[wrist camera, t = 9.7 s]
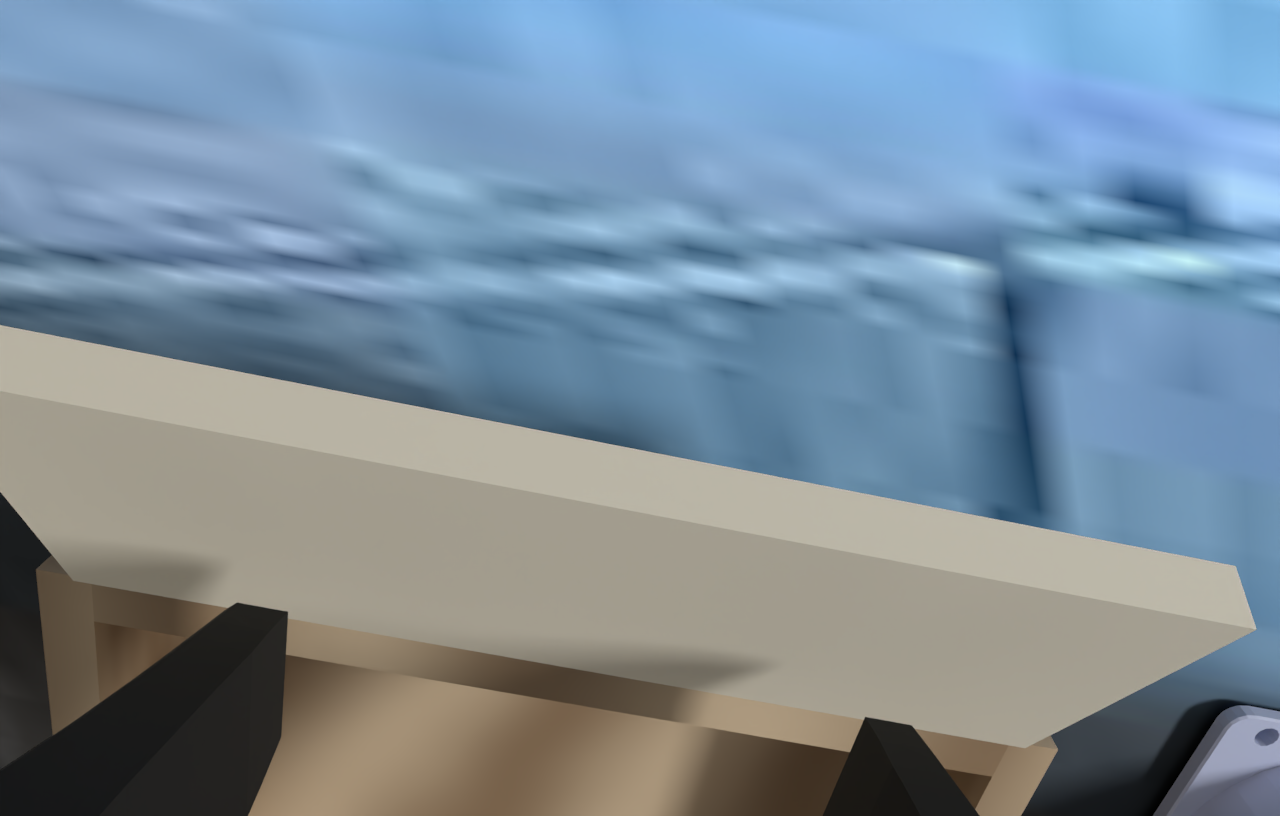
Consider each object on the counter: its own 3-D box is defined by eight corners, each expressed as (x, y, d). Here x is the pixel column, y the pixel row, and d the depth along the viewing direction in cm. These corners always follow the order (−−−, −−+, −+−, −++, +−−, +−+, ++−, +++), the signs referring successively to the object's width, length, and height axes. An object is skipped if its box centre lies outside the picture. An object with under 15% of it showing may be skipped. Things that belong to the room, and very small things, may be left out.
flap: (1024, 748, 14) (1017, 698, 14) (1256, 629, 10) (1234, 565, 10) (72, 580, 13) (99, 533, 13) (-98, 372, 9) (-51, 315, 9)
